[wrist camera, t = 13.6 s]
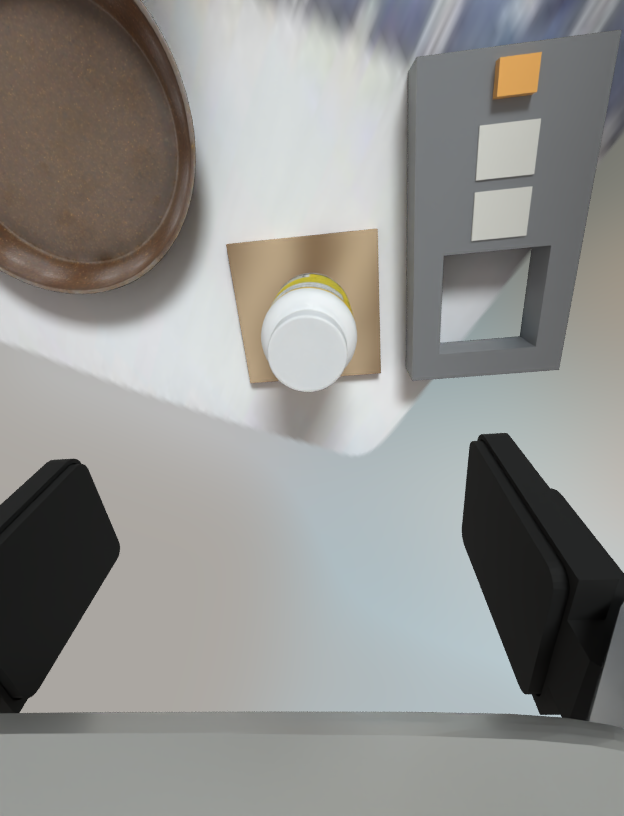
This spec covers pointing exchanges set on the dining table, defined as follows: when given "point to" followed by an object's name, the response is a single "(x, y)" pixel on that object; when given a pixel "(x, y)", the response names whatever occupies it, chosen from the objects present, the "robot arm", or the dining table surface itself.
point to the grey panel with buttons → (502, 187)
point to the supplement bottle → (309, 333)
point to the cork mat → (289, 257)
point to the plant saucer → (89, 144)
